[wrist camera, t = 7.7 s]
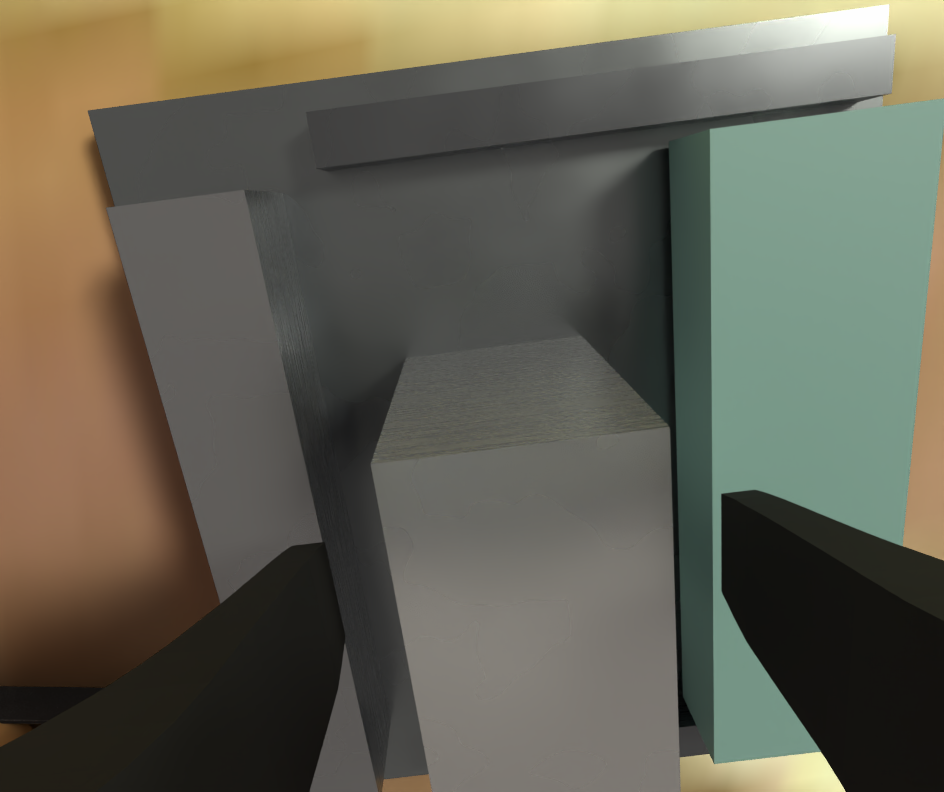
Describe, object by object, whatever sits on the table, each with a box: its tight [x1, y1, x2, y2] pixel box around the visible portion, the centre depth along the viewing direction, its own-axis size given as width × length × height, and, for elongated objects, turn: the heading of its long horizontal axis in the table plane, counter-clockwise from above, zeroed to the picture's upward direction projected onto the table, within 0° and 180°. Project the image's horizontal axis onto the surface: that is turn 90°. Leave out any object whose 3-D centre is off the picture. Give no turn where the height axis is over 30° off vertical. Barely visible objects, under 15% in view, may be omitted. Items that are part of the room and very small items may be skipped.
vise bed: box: [88, 5, 896, 792], centre depth 14 cm, size 16×18×3 cm
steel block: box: [371, 336, 680, 792], centre depth 12 cm, size 4×7×6 cm, turn 7°
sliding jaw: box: [669, 99, 944, 764], centre depth 13 cm, size 4×14×2 cm, turn 7°
